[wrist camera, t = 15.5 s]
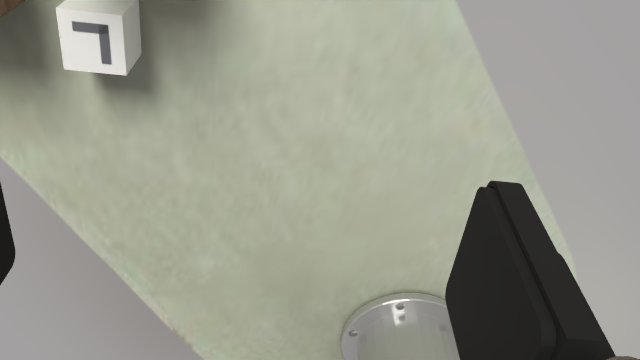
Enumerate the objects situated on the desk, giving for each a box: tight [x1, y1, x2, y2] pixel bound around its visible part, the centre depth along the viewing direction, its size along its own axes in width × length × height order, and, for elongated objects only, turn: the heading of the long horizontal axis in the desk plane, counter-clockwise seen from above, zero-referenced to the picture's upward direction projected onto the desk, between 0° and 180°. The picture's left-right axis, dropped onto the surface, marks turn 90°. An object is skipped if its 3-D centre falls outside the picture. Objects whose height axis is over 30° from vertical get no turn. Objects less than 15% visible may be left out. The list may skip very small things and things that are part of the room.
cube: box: [56, 0, 142, 76], centre depth 39 cm, size 4×4×4 cm
